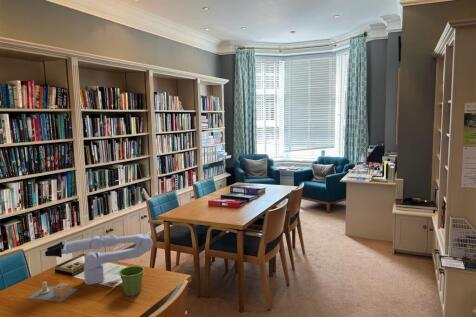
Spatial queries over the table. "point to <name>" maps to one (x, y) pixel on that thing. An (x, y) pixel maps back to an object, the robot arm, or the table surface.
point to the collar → (61, 290)
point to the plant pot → (132, 279)
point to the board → (49, 293)
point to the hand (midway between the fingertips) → (46, 252)
